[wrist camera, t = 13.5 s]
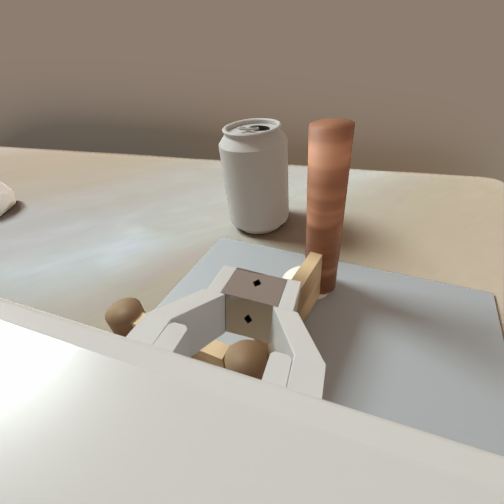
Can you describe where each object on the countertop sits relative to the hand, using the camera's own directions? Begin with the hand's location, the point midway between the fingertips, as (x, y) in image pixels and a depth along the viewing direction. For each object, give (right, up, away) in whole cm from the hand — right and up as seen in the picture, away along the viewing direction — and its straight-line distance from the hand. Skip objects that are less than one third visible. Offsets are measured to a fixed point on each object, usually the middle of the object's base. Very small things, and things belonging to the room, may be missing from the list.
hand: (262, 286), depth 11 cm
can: (+1, +5, +26) cm, 27 cm away
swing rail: (+4, -4, +13) cm, 14 cm away
